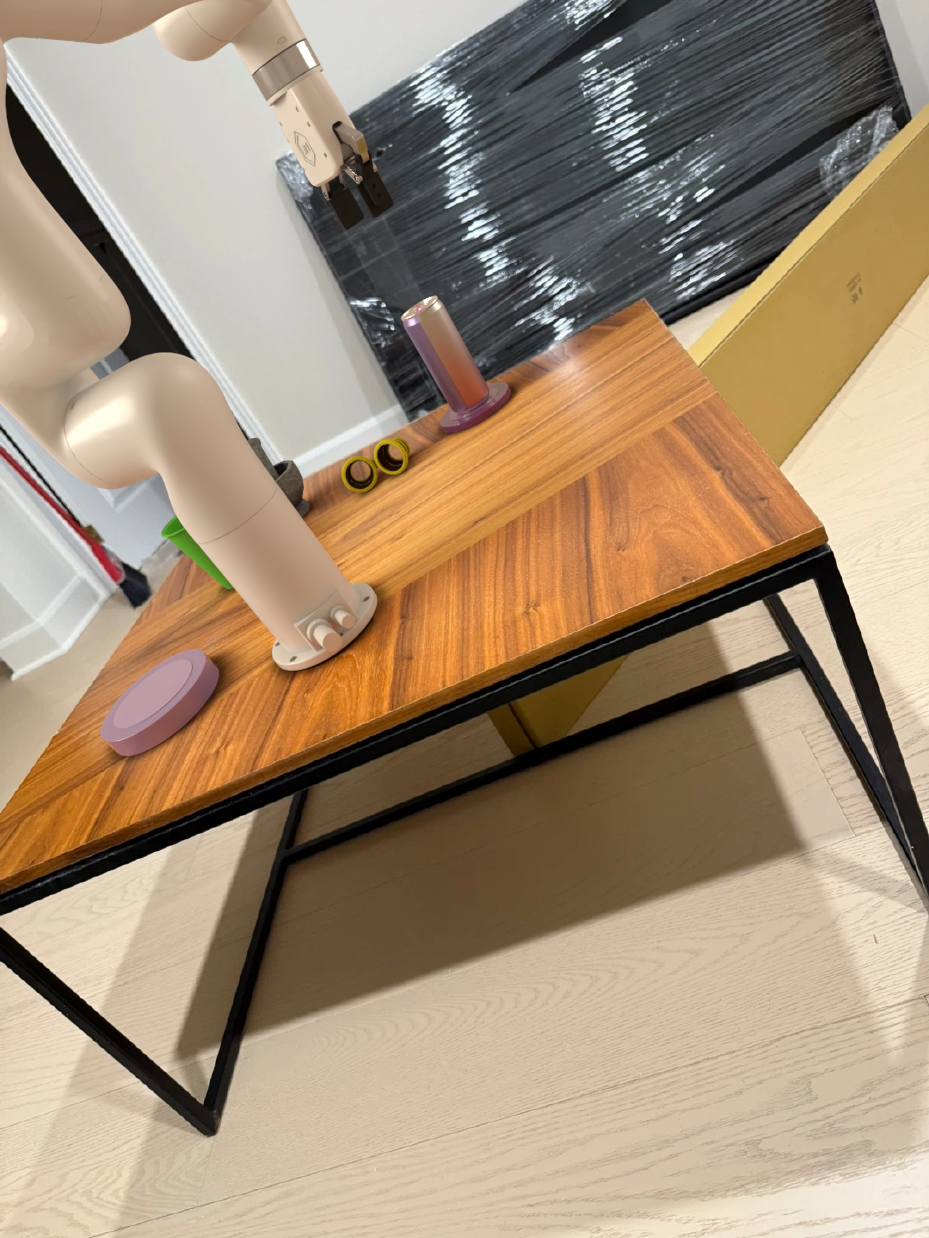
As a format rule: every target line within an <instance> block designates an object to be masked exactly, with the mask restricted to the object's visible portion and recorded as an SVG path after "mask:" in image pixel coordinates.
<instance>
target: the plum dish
mask: <svg viewBox="0 0 929 1238" xmlns="http://www.w3.org/2000/svg"><path fill="white" fill-rule="evenodd" d="M487 386H488V388H489V397H488V399H487V400H486V401H485V402H484V403H483V404H482V405H480V406H479V407H477V408H476V409H474V410H472V411H470V412H468V413H465V414H457V413H455V412H453V411H452V409H451V407H450V406H449V408H448V409H447V410H446V411H445V412H444V414H443V415H442V416H441V417H440V420H439V426H440V428H441V429H442V430H443V432H444V433H447V434H454V433H458V432H462V431H464V430H467V429H470V428H472V427H474V426H476V425H479V424H480V423H481V422H483V421H485V420H486V419H488V418H489V417H491V416H493V415H494V414H495V413H496V412H497V411H499V410H500V409H502V407H503V406H504V405H505V404H506V403H507V402H508V401H509V399H510V397H511V395H512V390H511V388H510V385H508V383H507V382H505V381H498V382H492V383H489V384H487Z"/></svg>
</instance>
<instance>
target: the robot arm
mask: <svg viewBox="0 0 929 1238" xmlns="http://www.w3.org/2000/svg"><path fill="white" fill-rule="evenodd" d="M149 26H151V27H152V30H153V32H154V34H155V36H156V38H157V39H158V41H159V42H160V44H161V45H162V47H164V49H165V50H167V51H168V52H169V53H170V54H172V55H173V56H175V57H177V58H178V59H181V60H184V61H188V62H201V61H205V60H208V59H209V58H211V57H212V56H214V55H215V54H216V53H218V52H220V50H221V49H223V48H224V47H226V46H227V45H229V44H232V45H233V47H234V48H235V50H236V51H237V54H238V55H239V57H240V58H241V60H242V62H243V63H244V65H245V67H246V69H247V70H248V72H249V74H250V75H251V77H252V79H253V81H254V82H255V84H256V87H257V88H258V89H259V91H260V93H261V95H262V96H263V98H264V100H265V102H266V103H267V104H268V107H272V109H273V112H274V114H275V116H276V120H277V122H278V124H279V126H280V128H281V130H282V133H283V134H284V136H285V138H286V140H287V142H288V144H289V146H290V148H291V150H292V152H293V154H294V156H295V158H296V160H297V161H298V163H299V165H300V167H301V169H302V171H303V173H304V174H305V176H306V178H307V180H308V181H309V183H310V184H311V185H312V186H313V187H316V188H319V189H320V190H321V192H322V195H323V197H324V199H325V200H327V202H328V204H329V205H330V207H331V209H332V211H333V212H334V214H335V216H336V218H337V219H338V221H339V223H340V224H341V226H342V228H343V229H344V230H345V231H346V230H349V229H350V228H352V227H354V226H355V225H357V224H358V223H359V222H361V221H363V220H364V219H365V214H364V212H363V210H362V208H361V206H360V205H359V202H358V201H357V199H356V198H355V196H354V194H353V192H352V191H351V189H350V187H349V186H348V187H346V185H345V181H344V177H343V173H342V172H343V171H344V172H345V173H346V174H347V175H348V176H349V177H350V178H351V179H352V180H353V181H354V182H355V183H356V184H357V185H355V186H354V188H355V190H356V191H357V193H358V195H359V196H360V199H361V200H362V202H363V204H364V206H365V207H366V210H367V211H368V213H369V215H370V217H371V218H373V219H376V218H378V217H380V216H381V215H383V214H384V213H385V212H387V211H388V210H389V209H391V208H393V207H394V205H395V202H394V200H393V198H392V196H391V194H390V193H389V190H388V189H387V186H386V185H385V183H384V180H383V179H382V178H381V176H380V174H379V172H378V167H377V165H376V164H375V163H374V161H373V156H372V152H371V150H369V148H368V144H367V142H366V138H365V136H364V134H363V133H362V131H360V130H358V129H357V128H356V127H355V124H354V123H353V120H351V118H350V116H349V114H348V113H347V111H346V109H345V107H344V105H343V104H342V102H341V101H340V99H339V98H338V96H337V94H336V92H335V91H334V90H333V88H332V86H331V85H330V83H329V82H328V80H327V79H326V77H325V75H323V73H322V72H323V71H324V68H323V66H322V65H321V63H320V60H319V58H318V56H317V55H316V53H315V51H314V50H313V47H312V46H311V44H310V42H309V40H308V38H307V36H306V34H305V32H304V30H303V28H302V27H301V25H300V24H299V22H298V19H297V18H296V16H295V14H294V13H293V11H292V9H291V7H290V5H289V3H288V1H287V0H0V406H1V407H2V408H4V410H6V411H7V413H9V415H11V417H12V418H13V419H15V420H16V422H17V423H18V424H19V425H20V426H21V427H22V428H23V429H24V430H25V431H26V432H27V433H28V434H29V435H30V436H31V437H32V438H33V439H34V440H35V441H36V443H38V444H39V445H40V446H41V447H42V448H43V449H44V450H45V451H46V452H47V453H48V454H49V455H50V456H51V457H52V458H53V459H54V460H55V461H56V462H57V463H58V464H59V465H61V466H62V467H63V468H64V469H65V470H66V471H67V472H69V473H70V474H71V475H72V476H74V477H75V478H77V479H78V480H80V481H81V482H83V483H85V484H87V485H89V486H92V487H95V488H98V489H104V490H116V489H117V490H118V489H123V488H126V487H129V486H133V485H134V484H137V483H139V482H141V481H144V480H147V479H149V478H151V477H153V476H156V475H160V477H161V479H162V481H163V483H164V486H165V489H166V492H167V496H168V499H169V501H170V505H171V507H172V509H173V512H174V514H175V516H177V517H178V519H179V521H180V522H181V524H182V525H183V527H184V528H185V529H186V531H187V532H188V533H189V534H190V536H191V537H192V538H193V539H194V541H195V542H196V543H197V544H198V545H199V546H200V547H201V549H202V550H203V551H204V552H205V553H206V555H207V556H208V557H209V558H210V559H211V561H212V562H213V563H214V564H215V565H216V567H217V568H218V569H219V570H220V572H221V573H222V574H223V575H224V576H225V578H226V579H227V580H228V581H229V582H230V584H231V585H232V586H233V587H234V588H233V589H234V590H235V591H236V592H237V593H238V595H239V596H240V598H242V600H243V601H244V602H245V603H246V604H247V606H248V607H249V608H250V609H251V610H252V612H253V613H254V614H255V615H256V617H257V618H258V619H259V620H260V621H261V623H262V624H263V625H264V626H265V628H266V629H267V630H268V632H269V633H270V634H271V635H272V636H273V637H274V638H275V640H274V643H273V645H272V649H271V656H272V660H273V661H274V663H276V665H277V666H278V667H279V668H280V669H282V670H284V671H290V672H293V671H300V670H301V671H302V670H306V669H308V668H311V667H314V666H317V665H318V664H321V663H322V662H324V661H327V660H328V659H330V658H331V657H333V656H334V655H336V654H338V653H339V652H340V651H342V650H343V649H344V648H346V647H347V646H348V645H349V644H350V643H352V641H354V640H355V639H356V638H357V637H358V636H359V635H360V634H361V633H362V632H363V631H364V629H365V628H366V627H367V625H368V624H369V622H370V621H371V619H372V618H373V616H374V615H375V611H376V609H377V606H378V596H377V594H376V592H375V591H374V589H373V588H372V587H371V586H370V585H369V584H368V583H365V582H357V581H356V582H350V581H349V579H347V577H346V576H345V574H344V573H343V571H342V570H341V569H340V567H339V566H338V565H337V564H336V563H335V561H334V559H333V558H332V557H331V555H330V553H328V551H327V549H325V547H324V546H323V545H322V543H321V542H320V540H319V539H318V538H317V536H316V535H315V534H314V532H313V531H312V530H311V528H310V527H309V525H308V523H306V521H305V519H304V518H303V517H301V516H300V515H299V513H298V512H297V510H296V509H295V508H294V506H293V505H292V504H291V502H290V501H289V500H288V498H287V497H286V495H285V494H284V493H283V491H282V490H281V489H280V487H279V486H278V485H277V483H276V482H275V481H274V479H273V478H272V477H271V475H270V474H269V472H268V471H267V470H266V468H265V467H264V466H263V464H262V463H261V461H260V460H259V458H258V457H257V456H256V454H255V452H254V451H253V449H252V448H251V446H250V445H249V443H248V442H247V440H248V439H247V438H246V437H245V435H244V432H242V429H241V428H240V426H239V424H238V422H237V420H236V418H235V416H234V414H233V412H232V409H231V407H230V405H229V402H228V400H227V398H226V397H225V394H224V393H223V390H222V389H221V387H220V385H219V384H218V382H217V381H216V379H215V378H214V376H213V375H212V374H211V373H210V372H209V371H208V370H207V368H205V367H204V366H203V365H202V364H201V363H199V362H198V361H196V360H194V358H193V359H192V358H190V357H189V356H186V355H183V354H180V353H175V352H155V353H152V354H151V353H150V354H147V355H143V356H140V357H139V358H136V359H134V360H131V361H130V362H128V363H126V364H124V365H123V366H121V367H119V368H117V369H115V370H114V371H111V373H109V374H107V375H105V376H103V377H102V378H99V377H98V376H97V375H96V373H95V372H94V371H93V370H92V369H91V367H93V366H94V365H96V364H97V363H99V362H101V361H102V360H103V359H105V358H106V357H108V356H110V355H111V354H112V353H113V352H115V351H116V350H117V349H118V348H119V347H120V346H121V345H122V344H123V342H125V339H126V338H127V336H128V335H129V333H130V328H131V324H132V323H131V322H132V319H131V312H130V308H129V306H128V304H127V301H126V299H125V297H124V295H123V294H122V292H121V290H120V289H119V288H118V286H117V285H116V283H115V282H114V281H113V279H112V278H111V277H110V276H109V274H108V272H106V270H105V269H104V268H103V267H102V265H100V263H99V262H98V261H97V259H96V258H95V257H94V256H93V254H92V253H91V252H90V251H89V250H88V249H87V247H86V246H85V245H84V244H83V242H82V241H81V240H80V239H79V237H78V236H77V235H76V234H75V233H74V231H73V230H72V229H71V228H70V227H69V225H68V224H67V223H66V222H65V220H64V219H63V218H62V217H61V216H60V214H59V213H58V212H57V211H56V210H55V208H54V207H53V206H52V205H51V203H50V202H49V201H48V200H47V198H46V197H45V195H44V194H43V193H42V192H41V190H40V189H39V187H38V186H37V185H36V183H35V182H34V181H33V180H32V178H31V177H30V175H29V174H28V172H27V171H26V169H25V167H24V166H23V164H22V162H21V160H20V158H19V156H18V154H17V152H16V148H15V146H14V143H13V140H12V137H11V133H10V128H9V124H8V118H7V107H6V94H7V93H6V92H7V91H6V90H7V83H8V57H7V52H6V49H5V44H6V43H7V42H8V41H10V40H13V39H16V38H18V39H19V38H25V39H41V40H53V41H63V42H74V43H83V44H84V43H85V44H93V45H105V44H111V43H114V42H116V41H119V40H120V41H121V40H123V39H124V38H126V37H130V36H132V35H134V34H135V33H138V32H140V31H143V30H145V29H146V28H148V27H149Z"/></svg>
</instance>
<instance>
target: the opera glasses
mask: <svg viewBox="0 0 929 1238" xmlns="http://www.w3.org/2000/svg"><path fill="white" fill-rule="evenodd" d="M390 445H392V446H394V447H395V448H397V449H398V450H399V452H400V453H401V457H402V458H395V457H394V456H393V455H392V454H391V452H390ZM410 455H411V446H410V445H409V442H408V441H407V440H406V439H404V438H402V437H398V436H397V437H396V436H395V437H392V438H391V439H390V438H385V439H382V440H380V441H379V442H378V443H377V444H376V445H375V447H374V450H373V459H372V458H371V459H370V458H368V457H366V456H363V455H355V456H352V457H350V458H348V459H347V460H346V461H345V463H344V464H343V465H342V469H341V480H342V482H343V484H344V486H345V487H346V488H347V489H348V490H350V491H352V492H354V493H357V494H364V493H366V492H368V491H370V490H372V489H373V488H374V486H375V485H376V484H377V481H378V476H379V474H378V469H380V470H381V471H382V472H383V473H385V474H387V475H390V476H391V475H392V476H396V475H401V474H402V473H403V472H404V471H405V470H406V469H407V467H408V463H409V457H410ZM358 462H363V463H365V464H367V465H368V469H369V474H368V476H367V477H366V478H365V479H357V478H356V477H355V476H354V475H353V472H352V468H353V466H354V464H356V463H358Z"/></svg>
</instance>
